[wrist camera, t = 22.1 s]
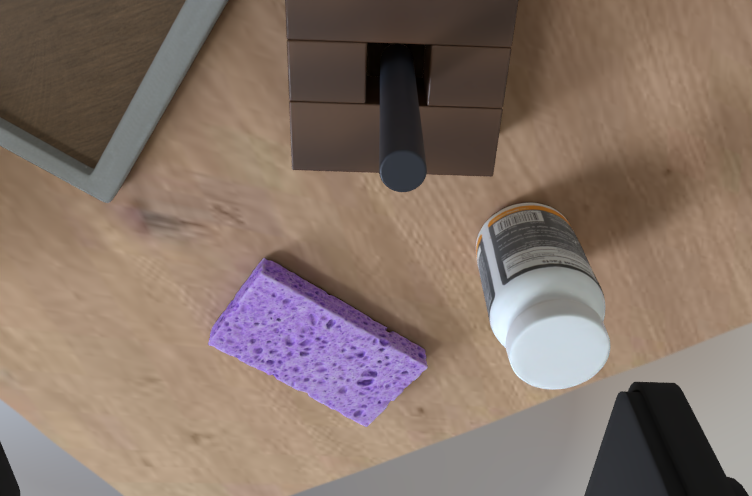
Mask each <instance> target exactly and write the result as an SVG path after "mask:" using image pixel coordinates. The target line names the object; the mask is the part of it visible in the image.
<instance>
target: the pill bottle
mask: <svg viewBox="0 0 752 496" xmlns="http://www.w3.org/2000/svg"><path fill="white" fill-rule="evenodd" d="M476 257H477V263H478V268H479V272H480V277H481V282H482V287H483V292H484V296H485V301H486V306H487V310H488V315H489V320H490V324H491V328H492V331H493V332H494V334H495V336H496V338H497V339H498V340H499V342H500V343H501V344H502V345H503V346H504V347H505V348H506V350H507V354H508V357H509V361H510V364H511V367H512V369H513V370H514V372H515V373H516V375H517V376H518V377H519V378H520V379H522V380H523V381H524V382H526V383H528V384H530V385H532V386H535V387H538V388H543V389H565V388H569V387H573V386H576V385H578V384H581V383H583V382H585V381H587V380H588V379H590V378H592V377H593V376H594V375H595V374H596V373H598V372H599V371H600V370H601V368H602V367H603V366H604V364H605V363H606V361H607V359H608V356H609V352H610V340H609V336H608V333H607V330H606V328H605V326H604V323H603V321H604V317H605V299H604V294H603V292H602V289H601V287H600V285H599V283H598V281H597V279H596V277H595V275H594V273H593V271H592V269H591V267H590V264H589V262H588V260H587V258H586V256H585V253H584V251H583V249H582V247H581V245H580V243H579V241H578V239H577V237H576V235H575V233H574V231H573V229H572V227H571V225H570V224H569V222H568V221H567V219H566V218H565V217H564V216H563V215H562V214H561V213H560V212H559V211H557V210H556V209H554V208H552V207H550V206H547V205H543V204H539V203H520V204H515V205H512V206H509V207H506V208H504V209H502V210H500V211H499V212H497V213H496V214H494V215H492V217H491V218H489V219H488V221H487V222H486V223H485V224H484V225H483V227H482V229H481V230H480V233H479V235H478V238H477V242H476Z"/></svg>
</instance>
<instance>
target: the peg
mask: <svg viewBox="0 0 752 496" xmlns="http://www.w3.org/2000/svg"><path fill="white" fill-rule="evenodd" d="M379 174H380V177H381V180H382V181H383V183H384V184H385V185H386V186H387V187H388V188H390V189H392V190H394V191H398V192H408V191H411V190H414V189H416V188H417V187H418V186H420V185H421V184H422V182H423V181H424V179H425V177H426V174H427V166H426V158H425V150H424V142H423V134H422V126H421V118H420V110H419V102H418V94H417V86H416V78H415V70H414V61H413V55H412V52H411V51H410V49H409V48H408V47H406V46H405V45H403V44H398V43H396V44H391V45H389V46H387V47H386V48H385V49H384V50H383V52H382V54H381V57H380V143H379Z"/></svg>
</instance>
